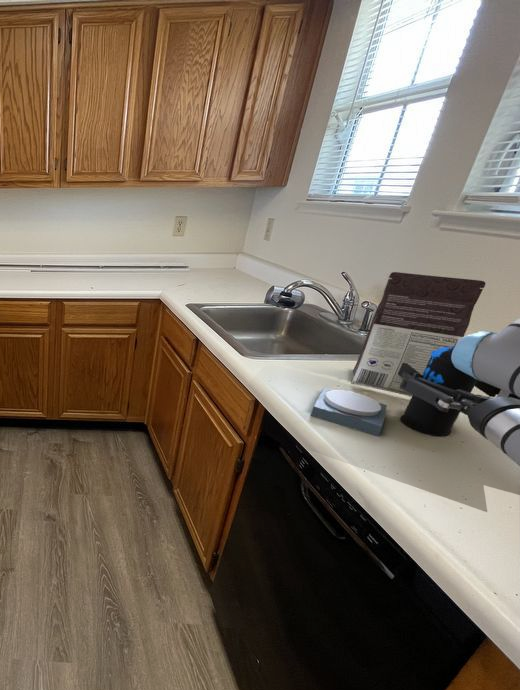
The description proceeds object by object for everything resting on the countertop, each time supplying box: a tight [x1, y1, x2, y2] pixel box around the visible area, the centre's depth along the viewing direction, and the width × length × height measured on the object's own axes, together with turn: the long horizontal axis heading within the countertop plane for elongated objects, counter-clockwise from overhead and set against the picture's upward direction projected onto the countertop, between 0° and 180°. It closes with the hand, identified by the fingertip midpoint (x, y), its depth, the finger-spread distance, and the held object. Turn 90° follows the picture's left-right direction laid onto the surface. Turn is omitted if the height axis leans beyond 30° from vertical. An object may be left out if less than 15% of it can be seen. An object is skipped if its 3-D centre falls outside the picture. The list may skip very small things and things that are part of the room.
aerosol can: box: [399, 336, 477, 437], centre depth 85 cm, size 8×8×20 cm
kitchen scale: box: [310, 387, 388, 437], centre depth 92 cm, size 12×12×3 cm
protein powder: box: [350, 271, 486, 397], centre depth 99 cm, size 16×9×28 cm, turn 54°
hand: (437, 372), depth 87 cm, fingers open, 12 cm apart
